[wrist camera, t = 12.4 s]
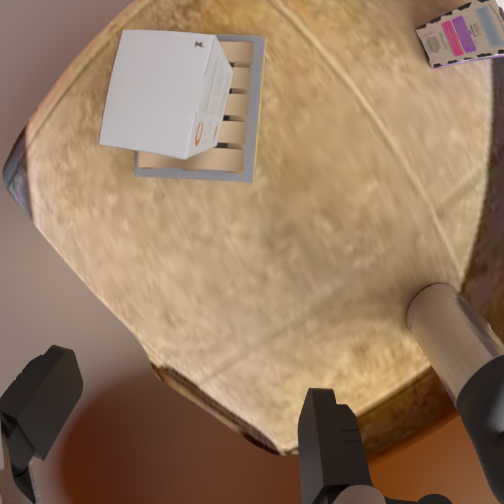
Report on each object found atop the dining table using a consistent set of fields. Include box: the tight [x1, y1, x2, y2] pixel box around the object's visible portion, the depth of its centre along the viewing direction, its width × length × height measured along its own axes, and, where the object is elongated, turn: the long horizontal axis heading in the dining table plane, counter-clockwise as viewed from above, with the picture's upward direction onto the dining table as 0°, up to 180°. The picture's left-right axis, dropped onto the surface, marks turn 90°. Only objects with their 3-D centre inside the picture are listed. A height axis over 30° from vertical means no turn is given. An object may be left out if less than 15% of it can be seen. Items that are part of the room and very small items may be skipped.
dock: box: [135, 34, 267, 183], centre depth 31 cm, size 13×16×3 cm
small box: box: [98, 30, 233, 160], centre depth 22 cm, size 8×6×13 cm
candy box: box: [415, 0, 504, 68], centre depth 20 cm, size 14×6×16 cm, turn 113°
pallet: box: [138, 41, 254, 174], centre depth 29 cm, size 11×14×2 cm
